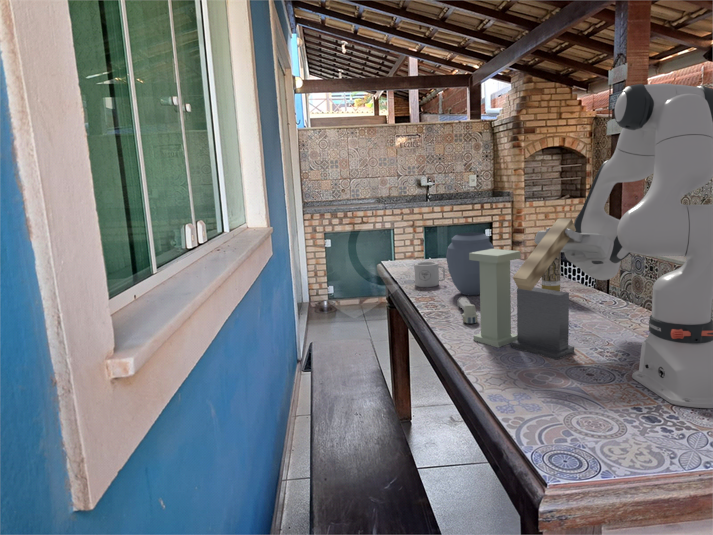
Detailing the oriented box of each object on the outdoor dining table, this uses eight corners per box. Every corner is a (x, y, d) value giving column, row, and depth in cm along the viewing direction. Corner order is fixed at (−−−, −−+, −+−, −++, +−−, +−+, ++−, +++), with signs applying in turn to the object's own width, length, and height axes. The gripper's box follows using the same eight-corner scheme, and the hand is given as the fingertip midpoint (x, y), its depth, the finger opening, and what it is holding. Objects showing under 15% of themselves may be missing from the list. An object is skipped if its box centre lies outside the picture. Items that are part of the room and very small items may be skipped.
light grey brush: (469, 295, 191) (478, 302, 166) (470, 313, 191) (479, 323, 166) (454, 296, 191) (462, 303, 166) (455, 314, 191) (463, 323, 166)
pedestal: (493, 333, 157) (492, 248, 152) (521, 340, 149) (520, 251, 144) (471, 340, 151) (469, 253, 146) (498, 348, 143) (497, 255, 138)
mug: (413, 287, 228) (412, 265, 226) (417, 282, 238) (416, 261, 236) (443, 287, 224) (442, 265, 222) (446, 282, 234) (446, 261, 232)
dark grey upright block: (529, 340, 148) (528, 284, 145) (574, 352, 136) (575, 291, 133) (511, 347, 143) (510, 289, 140) (556, 359, 132) (557, 297, 129)
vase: (437, 294, 211) (435, 235, 207) (467, 286, 223) (465, 230, 219) (476, 301, 196) (474, 238, 192) (505, 292, 208) (505, 232, 204)
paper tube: (561, 296, 196) (562, 231, 192) (543, 296, 197) (543, 232, 193) (558, 292, 203) (558, 229, 198) (540, 292, 204) (540, 230, 200)
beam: (562, 229, 143) (558, 218, 141) (576, 230, 140) (571, 218, 138) (518, 288, 134) (512, 277, 132) (531, 290, 131) (525, 279, 129)
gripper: (552, 238, 155) (527, 219, 147) (620, 242, 138) (596, 221, 130) (546, 257, 154) (521, 239, 146) (613, 264, 138) (589, 244, 130)
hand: (557, 230), depth 138 cm, fingers closed on beam, 4 cm apart
